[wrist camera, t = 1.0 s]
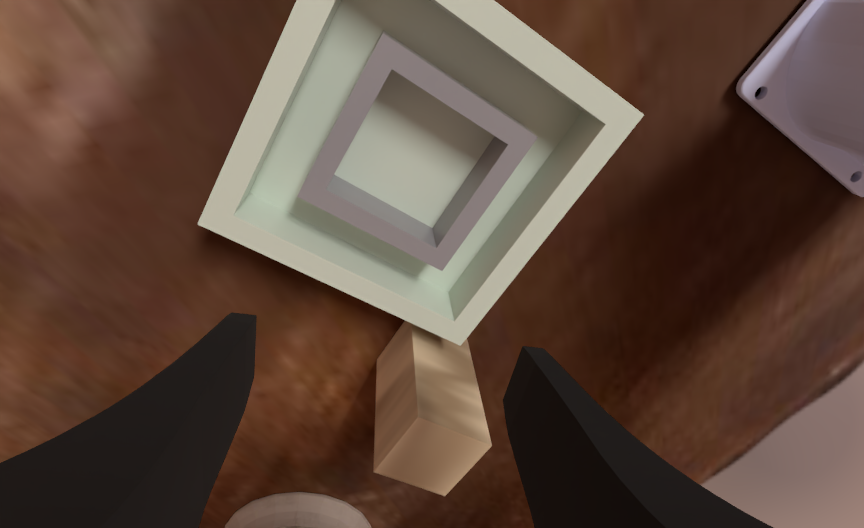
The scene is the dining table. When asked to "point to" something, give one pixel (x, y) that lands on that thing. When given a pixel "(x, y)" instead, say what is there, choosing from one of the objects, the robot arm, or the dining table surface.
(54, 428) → the dining table surface
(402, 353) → the tan wooden block
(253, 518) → the mug
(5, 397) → the dining table surface
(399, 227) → the square tray
